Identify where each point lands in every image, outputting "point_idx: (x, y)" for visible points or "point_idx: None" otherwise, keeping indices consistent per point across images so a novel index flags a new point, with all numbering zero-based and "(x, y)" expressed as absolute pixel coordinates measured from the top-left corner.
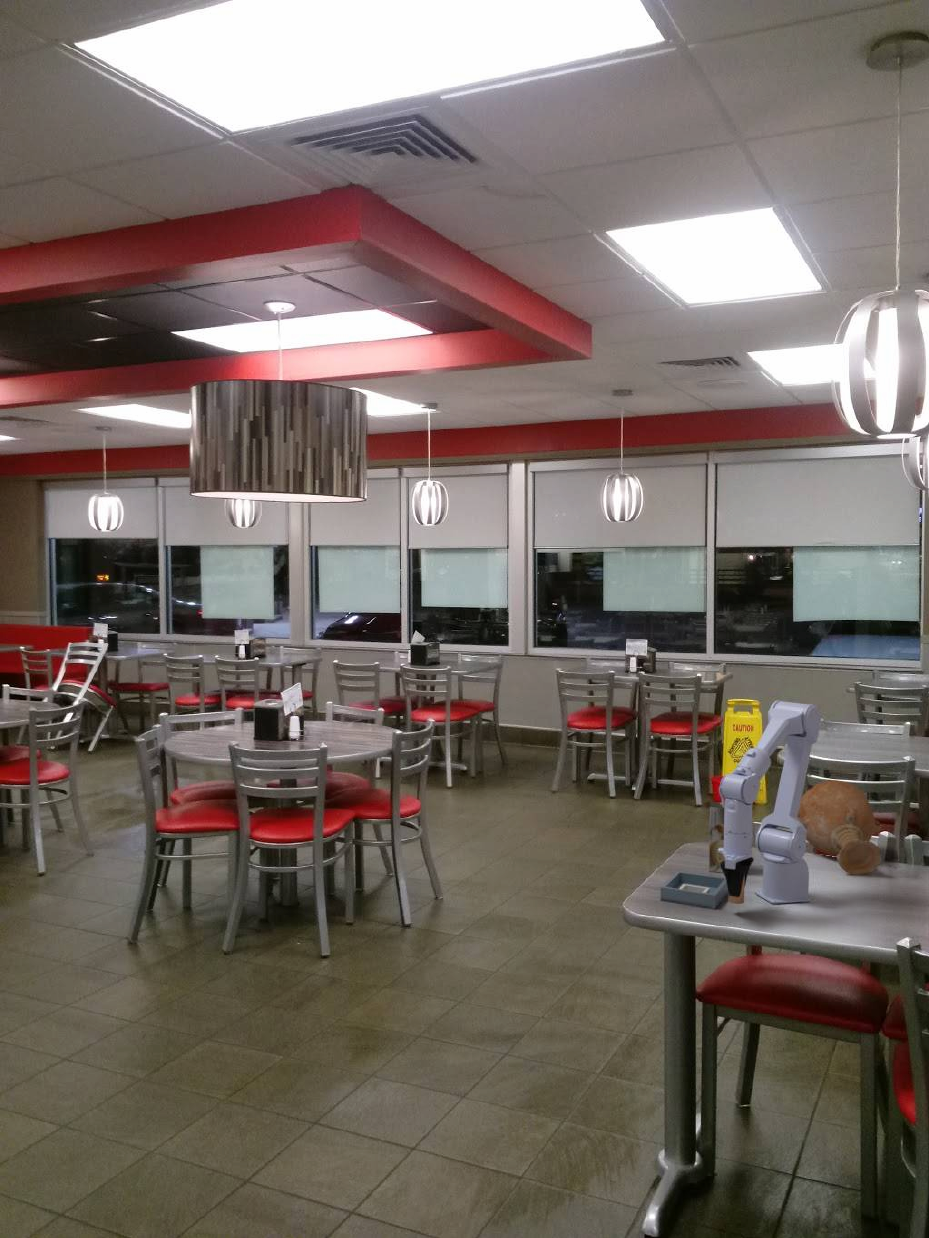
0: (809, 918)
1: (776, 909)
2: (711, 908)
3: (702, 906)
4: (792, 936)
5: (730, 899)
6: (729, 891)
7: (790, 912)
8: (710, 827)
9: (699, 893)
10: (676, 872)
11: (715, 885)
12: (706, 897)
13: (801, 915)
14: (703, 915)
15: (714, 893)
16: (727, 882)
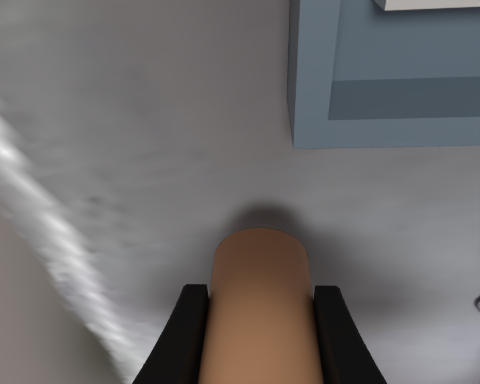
0: None
1: (408, 313)
2: (287, 77)
3: (290, 9)
4: (134, 364)
5: (219, 257)
6: (173, 312)
7: (385, 344)
8: None
9: (301, 4)
10: None
11: None
12: (293, 68)
13: None
14: (121, 66)
15: (350, 131)
16: (137, 378)
